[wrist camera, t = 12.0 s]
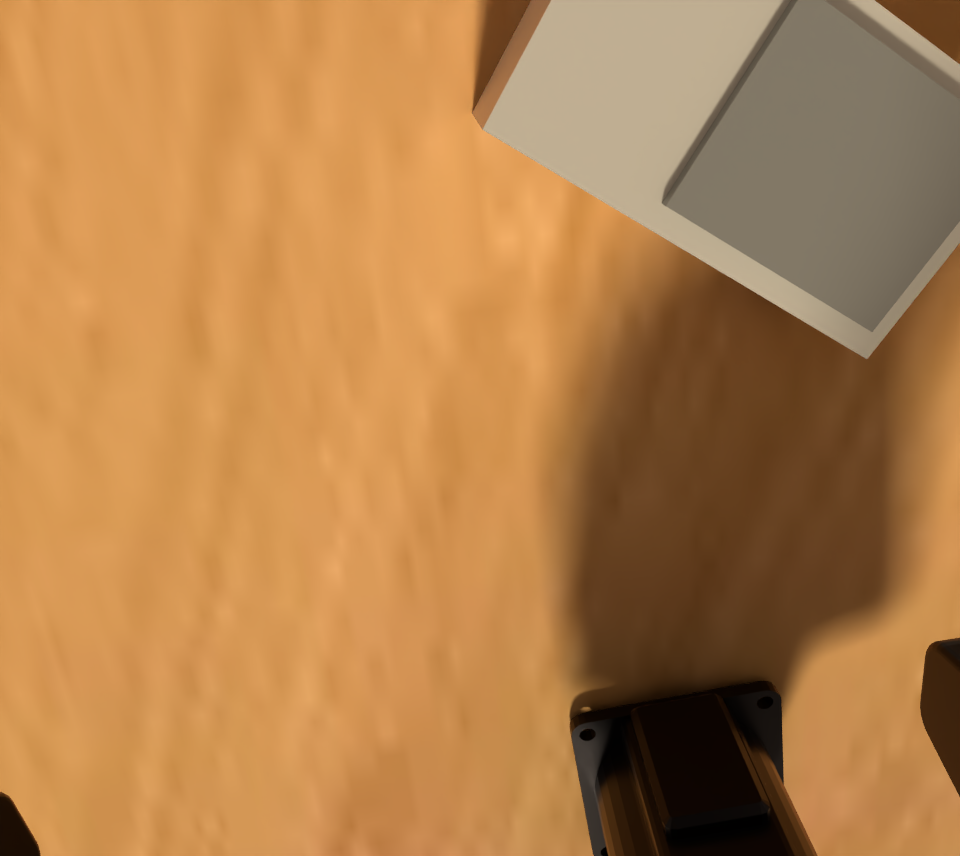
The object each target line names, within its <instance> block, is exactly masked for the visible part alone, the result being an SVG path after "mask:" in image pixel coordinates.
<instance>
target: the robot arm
mask: <svg viewBox="0 0 960 856" xmlns="http://www.w3.org/2000/svg"><path fill="white" fill-rule="evenodd" d="M762 697H765V698H763V699H760V698H762ZM920 709H921V716H922V720H923V723H924V726H925V729H926V731H927V733H928V735H929V737H930V739H931V741H932V743H933V745H934V747H935V749H936V751H937V753H938V755H939V757H940V759H941V761H942V763H943V765H944V767H945V769H946V771H947V773H948V775H949V777H950V779H951V780H952V782H953V784H954V786H955V788H956V790H957V792H958V794H959V796H960V638H955V639H948V640H942V641H936V642H934V643H932V644H931V645H930V646H929V647H928V649H927V651H926V655H925V664H924V673H923V683H922V692H921V702H920ZM585 729H590V730H587V731H582V730H585ZM570 733H571V738H572V743H573V749H574V754H575V760H576V765H577V770H578V776H579V781H580V786H581V792H582V797H583V803H584V808H585V813H586V819H587V824H588V830H589V835H590V840H591V845H592V850H593V855H594V856H817V854H816V852H815V850H814V847H813V845H812V843H811V841H810V839H809V837H808V835H807V833H806V831H805V829H804V826H803V824H802V822H801V820H800V818H799V816H798V814H797V812H796V810H795V808H794V806H793V803H792V801H791V799H790V797H789V795H788V793H787V791H786V789H785V787H784V781H783V744H782V707H781V697H780V695H779V693H778V691H777V689H776V687H775V686H774V685H773V684H772V683H771V682H767V681H758V682H753V683H747V684H742V685H736V686H731V687H725V688H720V689H714V690H709V691H703V692H698V693H692V694H686V695H681V696H675V697H670V698H664V699H659V700H653V701H648V702H642V703H637V704H631V705H626V706H620V707H615V708H609V709H604V710H598V711H593V712H587V713H582V714H580V715H577V716H576V717H574V718H573V719H572V721H571V722H570ZM0 856H40V850H39V846H38V844H37V842H36V840H35V838H34V836H33V835H32V833H31V831H30V830H29V828H28V826H27V825H26V823H25V821H24V819H23V818H22V816H21V814H20V813H19V811H18V809H17V807H16V806H15V804H14V802H13V801H12V799H11V798H10V797H9V796H8V795H6V794H4V793H2V792H0Z"/></svg>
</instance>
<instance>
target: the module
mask: <svg viewBox="0 0 960 856" xmlns="http://www.w3.org/2000/svg"><path fill="white" fill-rule="evenodd" d="M472 114H473V115H474V117H475V119H476V120H477V122H478V123H479V125H480V126H481V128H482V130H484V131H486V132H487V133H489V134H491V135H492V136H494V137H496V138H497V139H499V140H501V141H502V142H504V143H506V144H507V145H509V146H511V147H512V148H514V149H516V150H517V151H519V152H521V153H522V154H524V155H526V156H527V157H529V158H531V159H533V160H534V161H536V162H538V163H539V164H541V165H543V166H544V167H546V168H548V169H549V170H551V171H553V172H554V173H556V174H558V175H559V176H561V177H563V178H564V179H566V180H568V181H569V182H571V183H573V184H574V185H576V186H578V187H579V188H581V189H583V190H584V191H586V192H588V193H589V194H591V195H593V196H594V197H596V198H598V199H599V200H601V201H603V202H604V203H606V204H608V205H609V206H611V207H613V208H614V209H616V210H618V211H619V212H621V213H623V214H625V215H626V216H628V217H630V218H631V219H633V220H635V221H636V222H638V223H640V224H641V225H643V226H645V227H646V228H648V229H650V230H651V231H653V232H655V233H656V234H658V235H660V236H661V237H663V238H665V239H666V240H668V241H670V242H671V243H673V244H675V245H676V246H678V247H680V248H681V249H683V250H685V251H686V252H688V253H690V254H691V255H693V256H695V257H696V258H698V259H700V260H701V261H703V262H705V263H706V264H708V265H710V266H712V267H713V268H715V269H717V270H718V271H720V272H722V273H723V274H725V275H727V276H728V277H730V278H732V279H733V280H735V281H737V282H738V283H740V284H742V285H743V286H745V287H747V288H748V289H750V290H752V291H753V292H755V293H757V294H758V295H760V296H762V297H763V298H765V299H767V300H768V301H770V302H772V303H773V304H775V305H777V306H778V307H780V308H782V309H783V310H785V311H787V312H788V313H790V314H792V315H793V316H795V317H797V318H798V319H800V320H802V321H804V322H805V323H807V324H809V325H810V326H812V327H814V328H815V329H817V330H819V331H820V332H822V333H824V334H825V335H827V336H829V337H830V338H832V339H834V340H835V341H837V342H839V343H840V344H842V345H844V346H845V347H847V348H849V349H850V350H852V351H854V352H855V353H857V354H859V355H860V356H862V357H864V358H865V359H868V357H869V356H870V355H871V354H872V352H873V351H874V350H875V349H876V347H877V346H878V345H879V344H880V342H881V341H882V340H883V339H884V337H885V336H886V335H887V334H888V332H889V331H890V330H891V329H892V327H893V326H894V325H895V324H896V322H897V321H898V320H899V319H900V317H901V316H902V315H903V313H904V312H905V311H906V310H907V308H908V307H909V306H910V305H911V303H912V302H913V301H914V300H915V298H916V297H917V296H918V295H919V293H920V292H921V291H922V290H923V288H924V287H925V286H926V285H927V283H928V282H929V281H930V280H931V278H932V277H933V276H934V275H935V273H936V272H937V271H938V270H939V268H940V267H941V266H942V265H943V263H944V262H945V261H946V260H947V258H948V257H949V256H950V255H951V253H952V252H953V251H954V250H955V248H956V247H957V246H958V244H959V243H960V64H958V63H957V62H956V61H954V60H953V59H952V58H950V57H949V56H948V55H946V54H945V53H944V52H942V51H941V50H940V49H938V48H937V47H936V46H935V45H933V44H932V43H931V42H929V41H928V40H927V39H925V38H924V37H923V36H921V35H920V34H919V33H917V32H916V31H915V30H913V29H912V28H911V27H909V26H908V25H907V24H905V23H904V22H903V21H901V20H900V19H899V18H897V17H896V16H895V15H893V14H892V13H891V12H889V11H888V10H887V9H885V8H884V7H883V6H881V5H880V4H879V3H877V2H876V1H875V0H531V2H530V3H529V5H528V7H527V9H526V11H525V13H524V15H523V17H522V19H521V21H520V23H519V24H518V26H517V28H516V30H515V32H514V34H513V36H512V38H511V40H510V42H509V44H508V45H507V47H506V49H505V51H504V53H503V55H502V57H501V59H500V61H499V63H498V65H497V66H496V68H495V70H494V72H493V74H492V76H491V78H490V80H489V82H488V84H487V86H486V88H485V89H484V91H483V93H482V95H481V97H480V99H479V101H478V103H477V105H476V107H475V109H474V110H473V112H472Z"/></svg>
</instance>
